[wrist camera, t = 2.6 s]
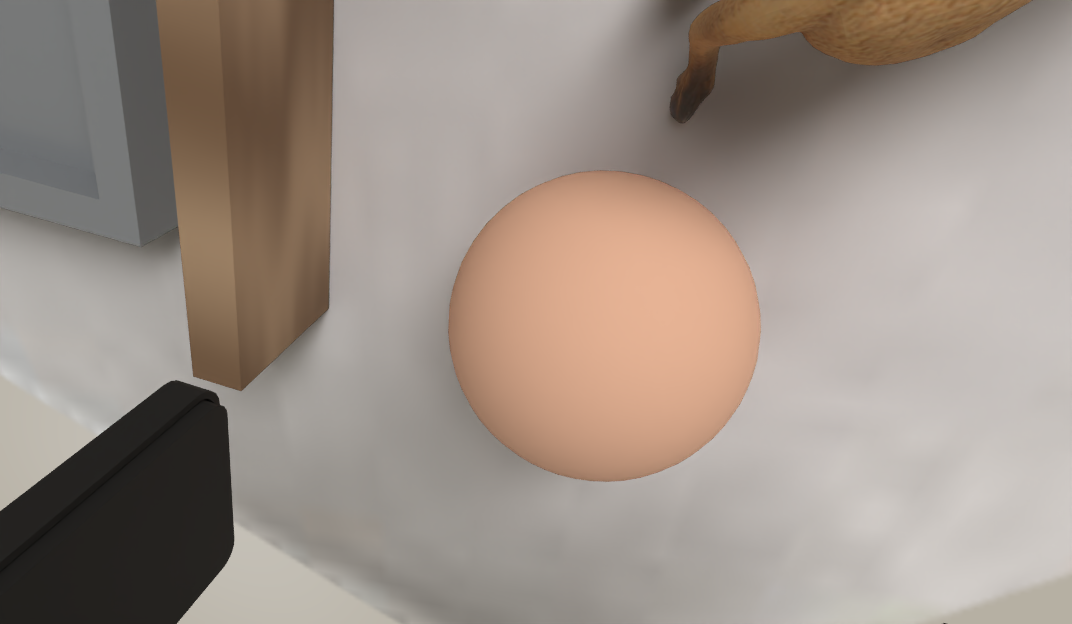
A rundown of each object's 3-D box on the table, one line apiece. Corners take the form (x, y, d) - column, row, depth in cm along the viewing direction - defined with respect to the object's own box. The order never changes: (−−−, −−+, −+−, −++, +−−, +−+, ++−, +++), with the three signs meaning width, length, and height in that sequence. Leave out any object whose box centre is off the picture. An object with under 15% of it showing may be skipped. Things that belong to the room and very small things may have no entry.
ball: (519, 106, 16) (410, 199, 11) (798, 171, 15) (821, 305, 10) (485, 336, 19) (387, 493, 14) (716, 400, 18) (701, 592, 13)
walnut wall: (277, -316, 13) (117, -392, 10) (338, -307, 13) (195, -380, 10) (288, 296, 20) (193, 376, 17) (328, 308, 20) (241, 390, 16)
